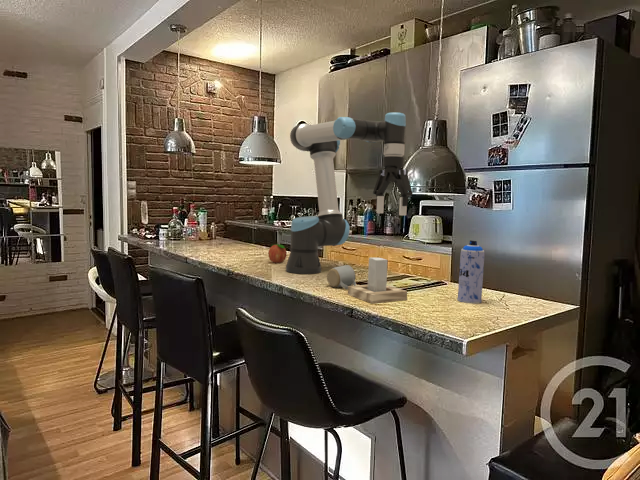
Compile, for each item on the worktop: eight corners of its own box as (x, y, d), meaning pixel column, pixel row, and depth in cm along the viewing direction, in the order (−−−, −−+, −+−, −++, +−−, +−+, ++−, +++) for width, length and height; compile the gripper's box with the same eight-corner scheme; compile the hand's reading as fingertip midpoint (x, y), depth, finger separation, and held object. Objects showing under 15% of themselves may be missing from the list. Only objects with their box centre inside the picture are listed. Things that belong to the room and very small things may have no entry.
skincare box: (386, 295, 155) (388, 259, 154) (374, 296, 154) (376, 260, 152) (378, 292, 161) (379, 257, 160) (366, 292, 159) (368, 257, 158)
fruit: (279, 260, 230) (279, 240, 229) (290, 263, 223) (291, 242, 222) (264, 262, 225) (264, 241, 224) (275, 264, 218) (276, 243, 217)
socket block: (347, 294, 160) (348, 286, 159) (381, 291, 167) (381, 283, 166) (371, 303, 148) (372, 294, 147) (406, 299, 154) (407, 291, 154)
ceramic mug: (325, 285, 173) (326, 265, 172) (341, 283, 178) (342, 263, 177) (344, 291, 165) (345, 270, 164) (361, 289, 170) (362, 268, 169)
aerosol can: (452, 298, 158) (455, 239, 156) (470, 297, 161) (474, 239, 159) (468, 304, 151) (472, 242, 149) (487, 302, 154) (491, 241, 152)
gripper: (365, 157, 182) (363, 212, 184) (407, 153, 160) (404, 216, 163) (381, 158, 186) (378, 212, 188) (424, 155, 164) (421, 216, 166)
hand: (390, 214), depth 175 cm, fingers open, 13 cm apart
